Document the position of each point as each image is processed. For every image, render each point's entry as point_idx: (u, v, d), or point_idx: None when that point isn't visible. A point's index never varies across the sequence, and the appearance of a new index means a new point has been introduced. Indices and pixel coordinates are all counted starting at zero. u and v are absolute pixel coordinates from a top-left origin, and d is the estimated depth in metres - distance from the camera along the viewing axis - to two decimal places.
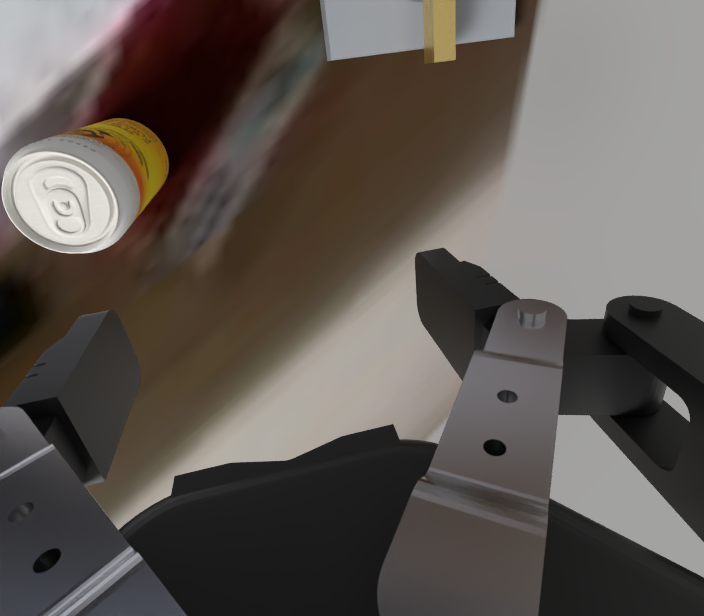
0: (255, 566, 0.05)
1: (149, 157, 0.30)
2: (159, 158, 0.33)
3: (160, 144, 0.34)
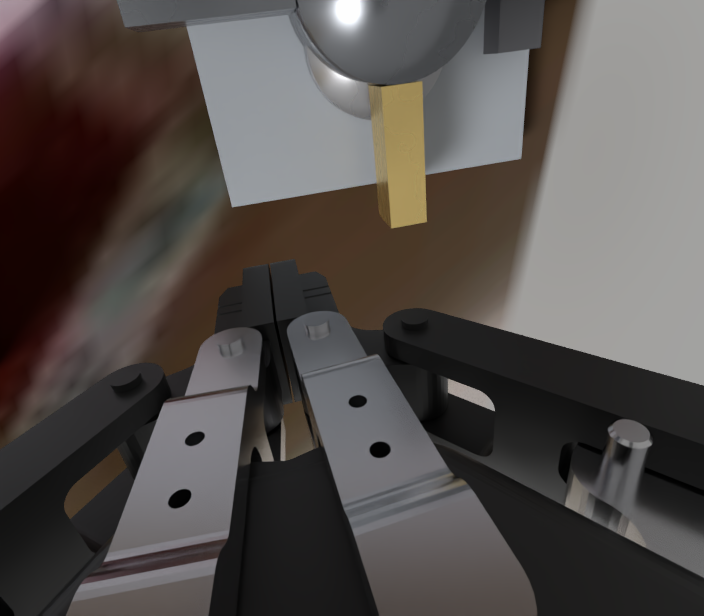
0: (256, 565, 0.05)
1: None
2: None
3: None
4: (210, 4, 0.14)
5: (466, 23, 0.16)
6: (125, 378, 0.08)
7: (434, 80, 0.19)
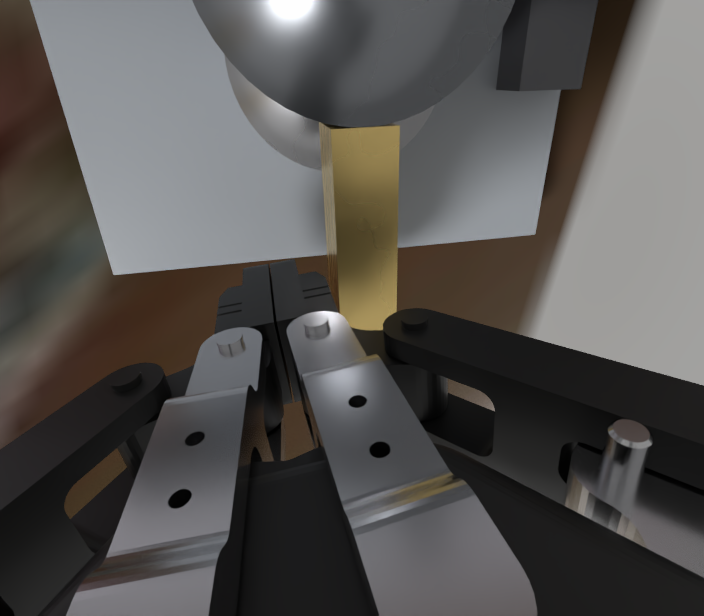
0: (256, 566, 0.05)
1: None
2: None
3: None
4: None
5: (478, 38, 0.10)
6: (125, 378, 0.08)
7: (423, 121, 0.13)
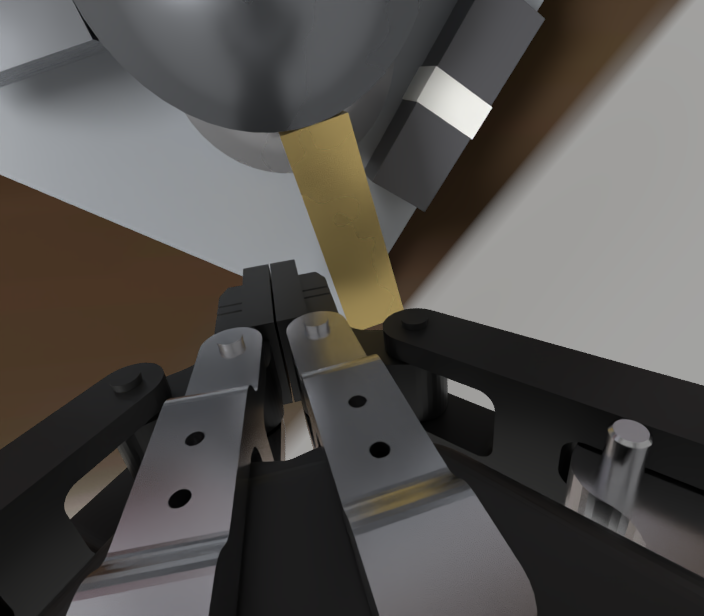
0: (256, 566, 0.05)
1: None
2: None
3: None
4: None
5: None
6: (125, 378, 0.08)
7: (386, 94, 0.12)
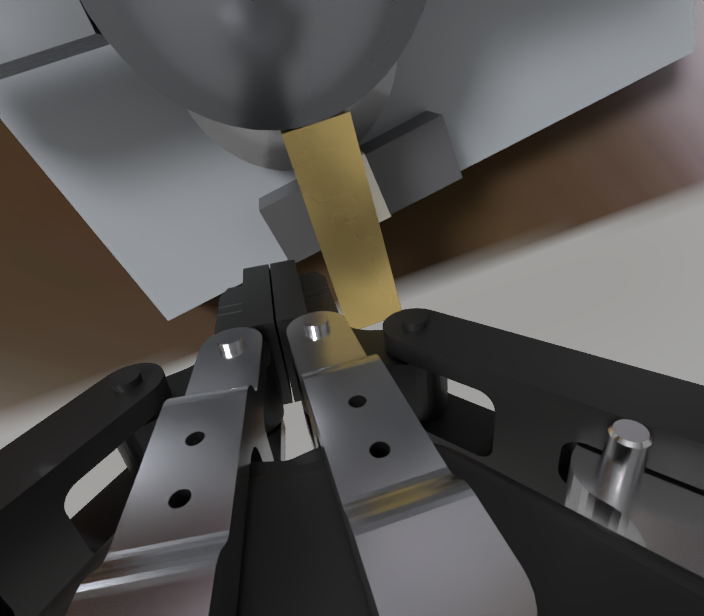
0: (255, 566, 0.05)
1: None
2: None
3: None
4: None
5: None
6: (125, 378, 0.08)
7: (388, 93, 0.12)
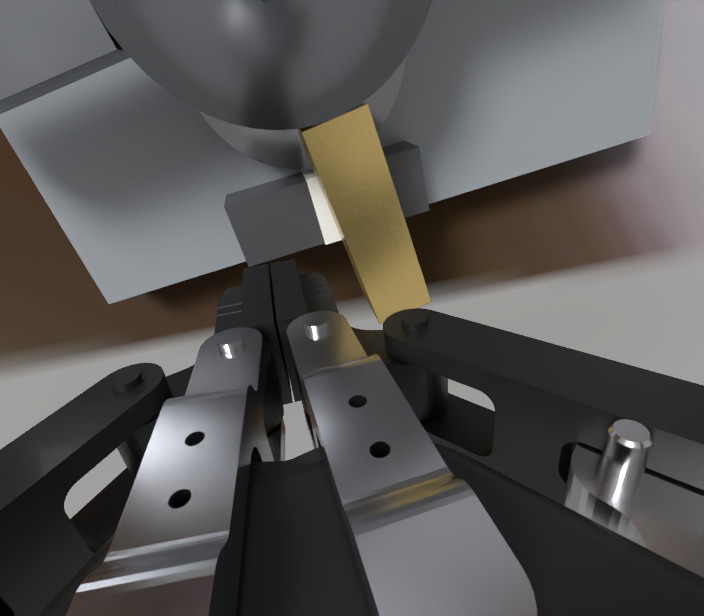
0: (256, 565, 0.05)
1: None
2: None
3: None
4: None
5: None
6: (125, 378, 0.08)
7: (399, 83, 0.12)
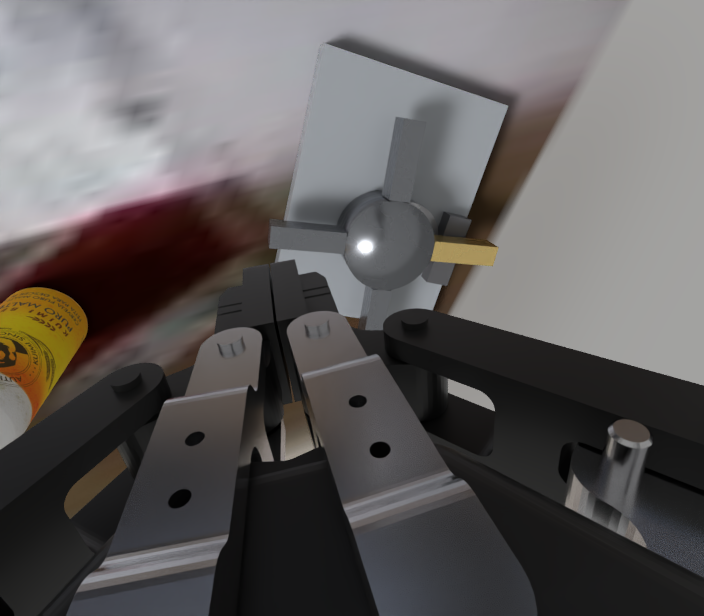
0: (256, 566, 0.05)
1: (61, 358, 0.31)
2: (74, 345, 0.34)
3: (83, 322, 0.35)
4: (381, 321, 0.36)
5: (420, 217, 0.33)
6: (125, 378, 0.08)
7: None
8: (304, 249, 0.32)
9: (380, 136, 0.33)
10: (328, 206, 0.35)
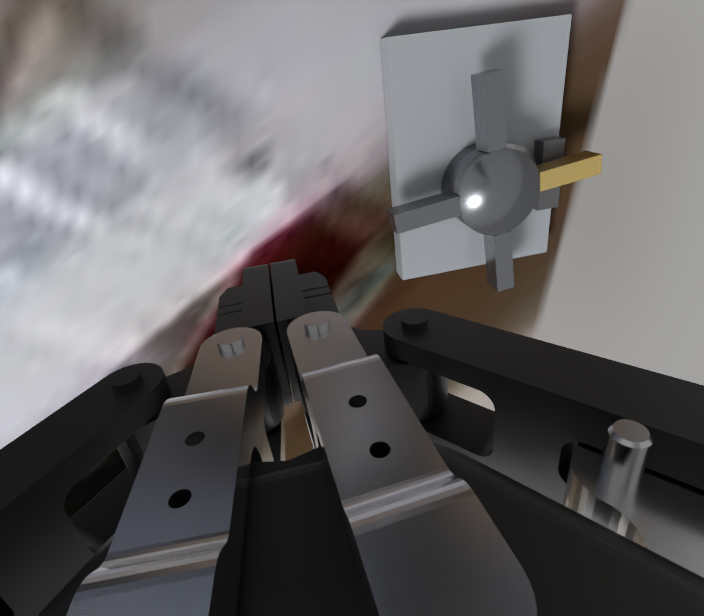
0: (256, 565, 0.05)
1: None
2: None
3: None
4: (509, 260, 0.39)
5: (520, 156, 0.35)
6: (125, 378, 0.08)
7: (522, 146, 0.37)
8: (426, 224, 0.36)
9: (457, 96, 0.36)
10: (429, 178, 0.38)
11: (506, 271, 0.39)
